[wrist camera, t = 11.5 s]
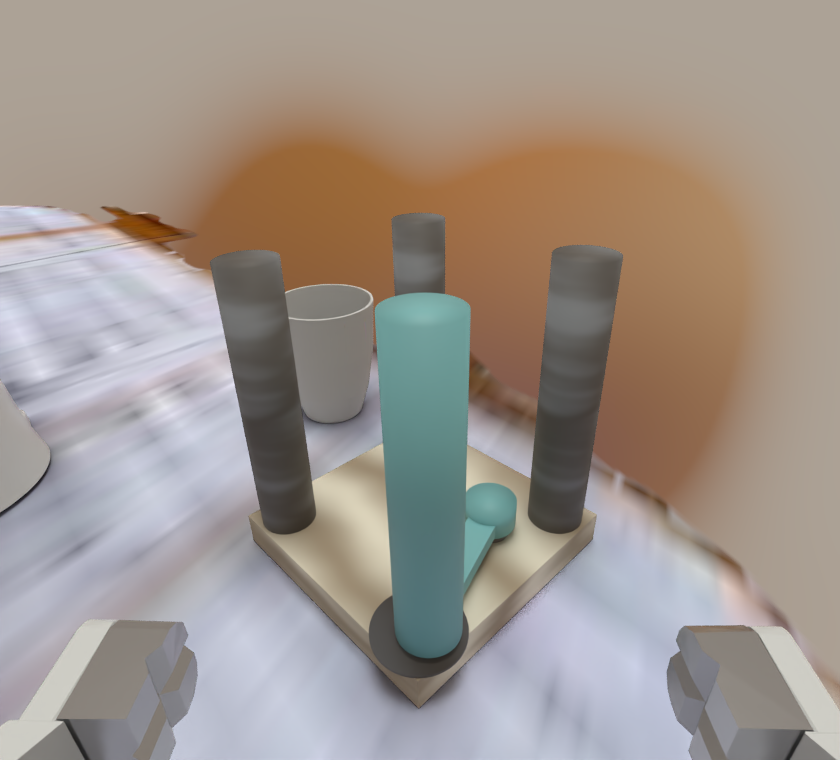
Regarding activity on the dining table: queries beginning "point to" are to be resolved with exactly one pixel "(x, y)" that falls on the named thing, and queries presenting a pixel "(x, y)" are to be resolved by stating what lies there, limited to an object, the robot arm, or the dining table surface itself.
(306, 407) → the cup
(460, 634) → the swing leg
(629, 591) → the dining table surface
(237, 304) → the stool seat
